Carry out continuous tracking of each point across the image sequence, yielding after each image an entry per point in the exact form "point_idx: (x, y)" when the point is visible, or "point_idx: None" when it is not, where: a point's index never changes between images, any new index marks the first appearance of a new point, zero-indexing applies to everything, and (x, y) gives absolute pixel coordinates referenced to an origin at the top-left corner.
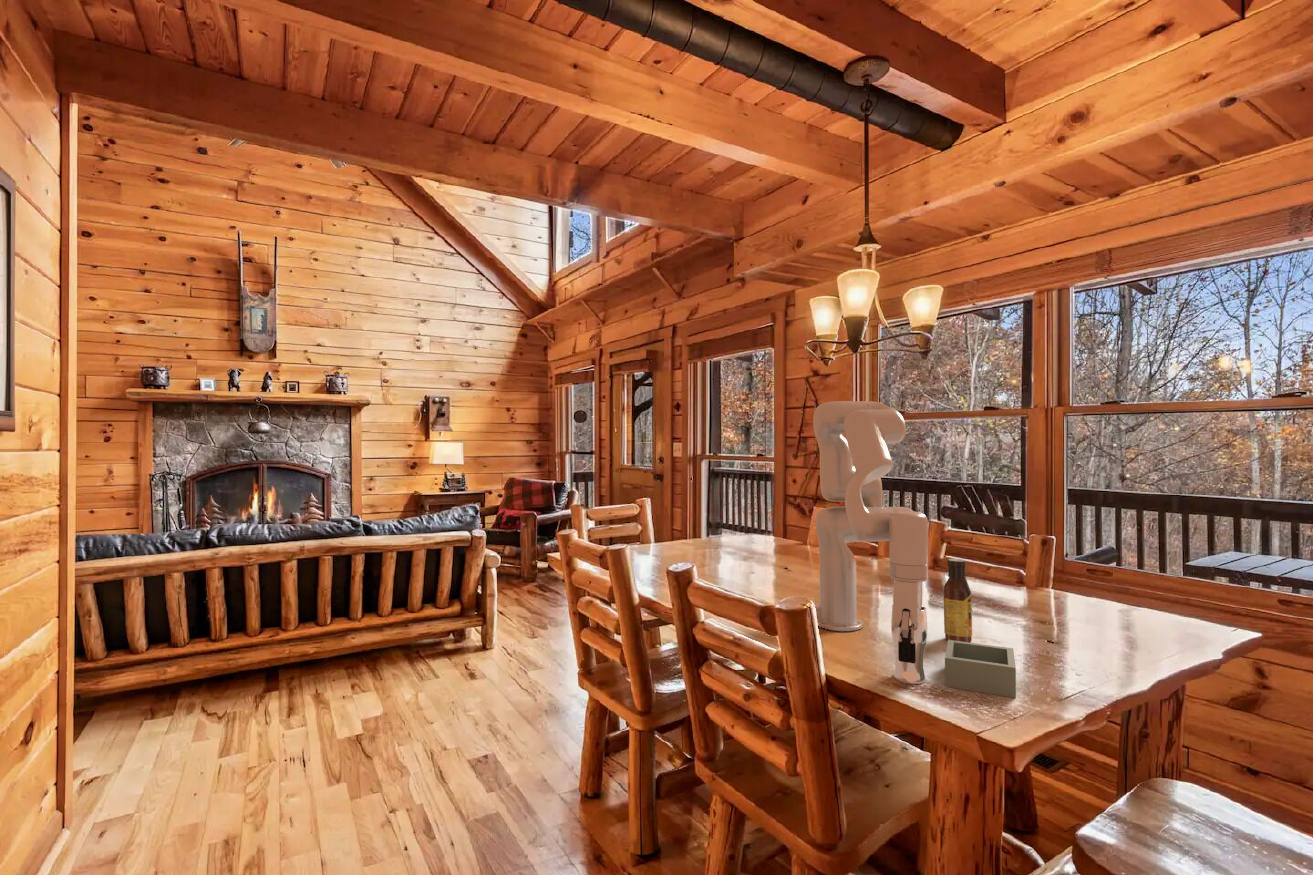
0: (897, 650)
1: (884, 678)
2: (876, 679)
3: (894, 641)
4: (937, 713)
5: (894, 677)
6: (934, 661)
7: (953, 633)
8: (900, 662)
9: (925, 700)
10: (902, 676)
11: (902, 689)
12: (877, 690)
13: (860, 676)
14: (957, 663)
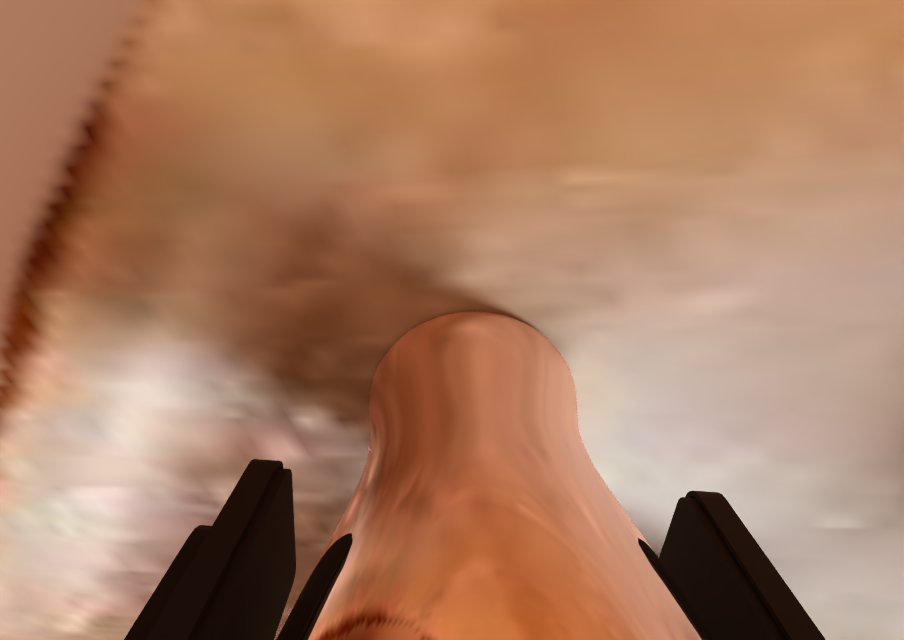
0: (369, 488)
1: (406, 245)
2: (357, 186)
3: (377, 542)
4: (9, 528)
5: (443, 315)
6: (844, 531)
7: None
8: (384, 432)
9: (149, 481)
10: (375, 386)
11: (250, 367)
12: (130, 208)
13: (367, 40)
14: None
